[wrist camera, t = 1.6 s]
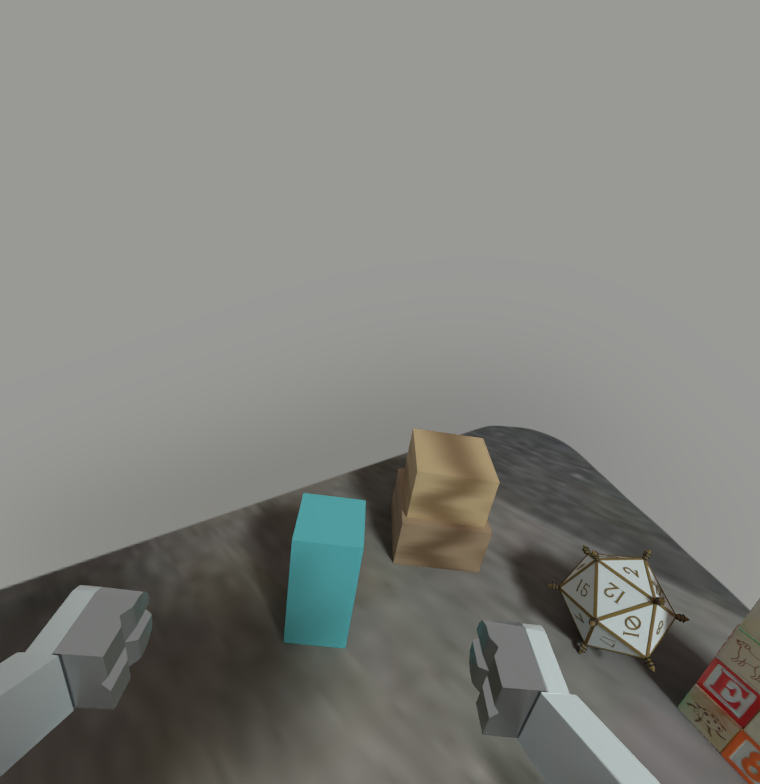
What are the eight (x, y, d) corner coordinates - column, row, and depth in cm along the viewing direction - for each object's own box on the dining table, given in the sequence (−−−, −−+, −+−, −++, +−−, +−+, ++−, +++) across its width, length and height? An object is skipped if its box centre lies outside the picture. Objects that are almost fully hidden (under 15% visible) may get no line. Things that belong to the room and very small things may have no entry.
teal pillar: (283, 642, 31) (291, 540, 26) (294, 589, 35) (303, 492, 30) (345, 648, 31) (363, 548, 27) (349, 595, 35) (365, 500, 31)
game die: (581, 642, 38) (644, 552, 39) (661, 724, 30) (739, 607, 30) (510, 596, 36) (577, 501, 37) (574, 669, 28) (659, 545, 28)
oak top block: (406, 517, 37) (417, 471, 35) (404, 469, 44) (413, 428, 41) (484, 527, 38) (499, 482, 35) (470, 479, 44) (482, 438, 42)
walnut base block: (392, 564, 39) (402, 523, 37) (390, 505, 46) (398, 468, 44) (478, 573, 39) (492, 533, 37) (462, 513, 46) (473, 477, 44)
